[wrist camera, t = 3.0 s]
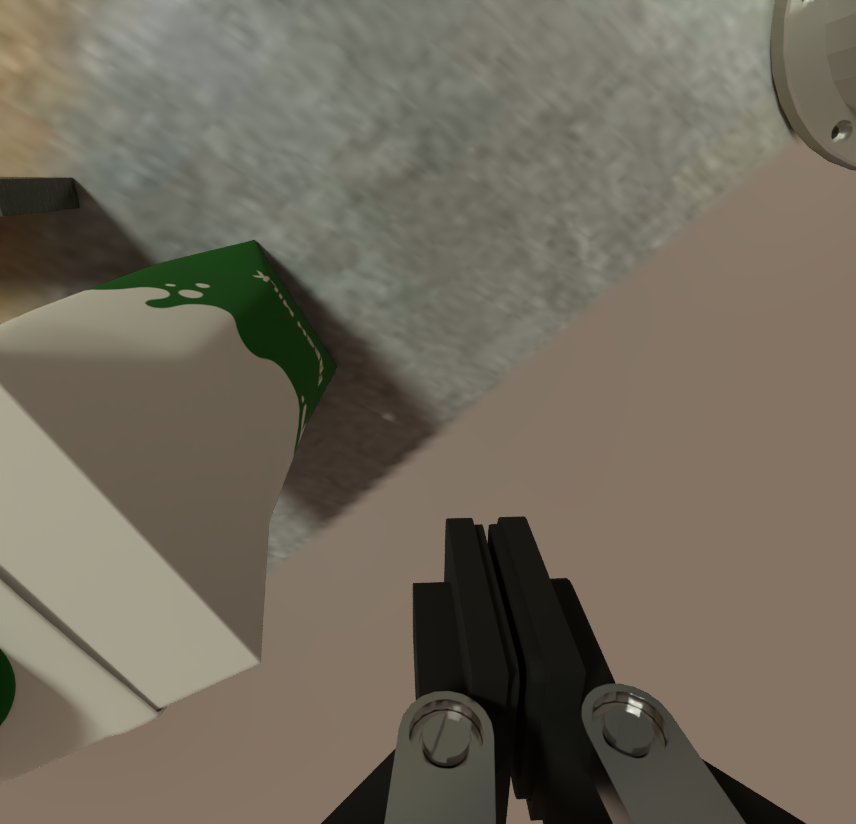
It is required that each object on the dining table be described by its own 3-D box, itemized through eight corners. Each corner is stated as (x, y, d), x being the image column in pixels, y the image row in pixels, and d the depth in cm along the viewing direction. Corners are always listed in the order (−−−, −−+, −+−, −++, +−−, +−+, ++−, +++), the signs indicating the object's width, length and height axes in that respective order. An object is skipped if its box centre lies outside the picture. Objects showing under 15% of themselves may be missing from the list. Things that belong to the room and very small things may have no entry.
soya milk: (101, 307, 25) (-664, 652, 7) (262, 208, 24) (-179, 325, 6) (217, 452, 29) (-105, 942, 10) (365, 372, 27) (292, 779, 9)
